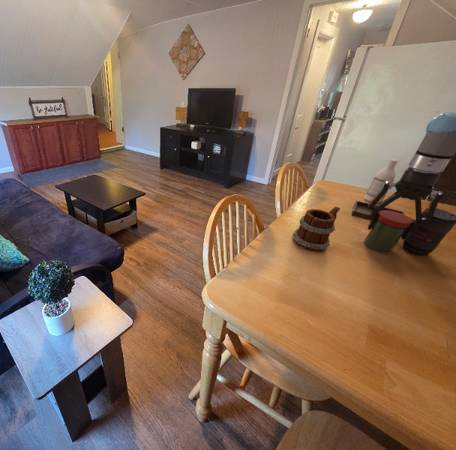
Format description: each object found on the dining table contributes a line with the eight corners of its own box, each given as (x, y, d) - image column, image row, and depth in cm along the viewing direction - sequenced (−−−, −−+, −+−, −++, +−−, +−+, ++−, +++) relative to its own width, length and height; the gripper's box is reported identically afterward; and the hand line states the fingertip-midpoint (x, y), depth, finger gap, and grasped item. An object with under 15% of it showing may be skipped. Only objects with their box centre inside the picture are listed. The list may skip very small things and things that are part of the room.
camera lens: (400, 252, 85) (426, 214, 77) (398, 240, 90) (422, 205, 82) (432, 260, 81) (462, 222, 73) (428, 248, 86) (455, 211, 78)
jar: (391, 245, 88) (409, 217, 82) (391, 256, 83) (410, 227, 77) (364, 237, 92) (379, 210, 86) (362, 247, 87) (378, 219, 81)
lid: (408, 220, 83) (412, 215, 82) (409, 231, 77) (413, 226, 76) (377, 212, 87) (379, 207, 86) (375, 222, 82) (378, 217, 81)
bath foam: (375, 197, 122) (396, 157, 112) (385, 203, 116) (408, 162, 106) (360, 196, 123) (380, 157, 112) (369, 202, 117) (391, 161, 106)
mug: (282, 238, 91) (299, 201, 84) (305, 234, 98) (323, 200, 91) (311, 256, 82) (333, 216, 75) (334, 250, 89) (356, 214, 82)
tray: (401, 215, 106) (404, 211, 105) (402, 228, 98) (405, 224, 97) (354, 204, 116) (356, 200, 114) (351, 214, 107) (353, 210, 106)
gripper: (378, 165, 76) (347, 226, 88) (479, 182, 64) (428, 249, 76) (379, 159, 81) (350, 218, 93) (473, 174, 69) (426, 239, 81)
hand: (385, 232), depth 85 cm, fingers closed on lid, 8 cm apart
